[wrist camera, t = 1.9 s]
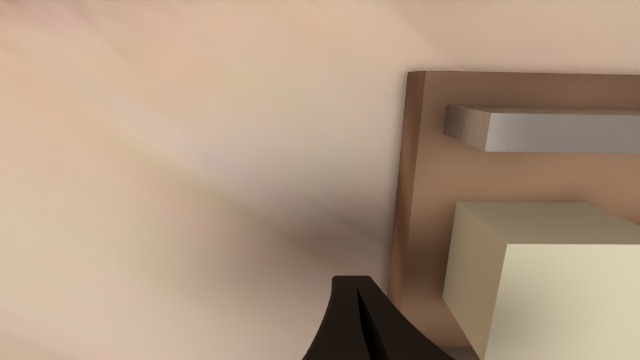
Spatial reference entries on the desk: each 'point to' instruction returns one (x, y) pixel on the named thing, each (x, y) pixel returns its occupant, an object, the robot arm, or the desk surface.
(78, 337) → the desk surface
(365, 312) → the robot arm
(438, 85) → the tunnel board
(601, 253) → the sage block
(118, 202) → the desk surface
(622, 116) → the tunnel walls
